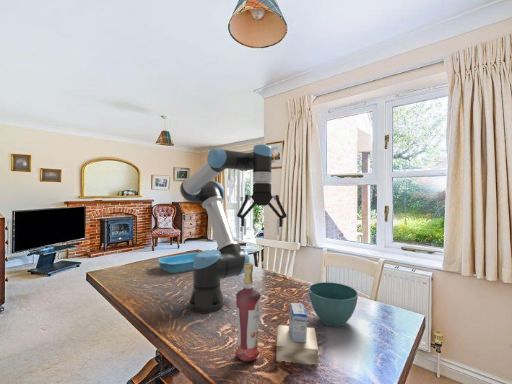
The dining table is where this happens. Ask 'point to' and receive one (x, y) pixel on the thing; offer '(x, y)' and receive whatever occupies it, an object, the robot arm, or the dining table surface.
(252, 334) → the liquor
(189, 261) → the casserole dish
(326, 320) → the plant pot
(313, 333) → the birch block
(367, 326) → the dining table surface
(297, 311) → the medicine box
